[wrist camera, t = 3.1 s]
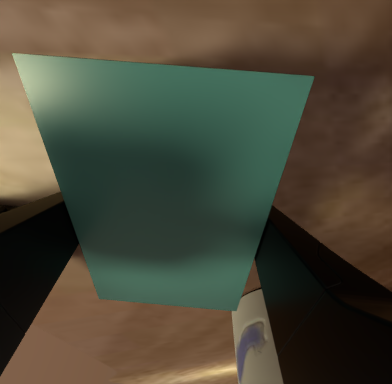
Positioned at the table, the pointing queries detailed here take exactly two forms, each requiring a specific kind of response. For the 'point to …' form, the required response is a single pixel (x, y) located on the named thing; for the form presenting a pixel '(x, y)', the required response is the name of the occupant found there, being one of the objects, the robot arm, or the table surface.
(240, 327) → the container
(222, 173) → the lid
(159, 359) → the table surface
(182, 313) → the table surface
